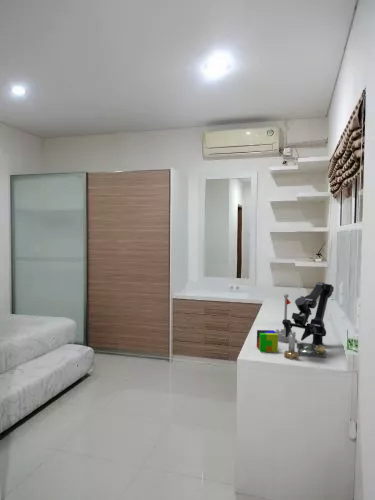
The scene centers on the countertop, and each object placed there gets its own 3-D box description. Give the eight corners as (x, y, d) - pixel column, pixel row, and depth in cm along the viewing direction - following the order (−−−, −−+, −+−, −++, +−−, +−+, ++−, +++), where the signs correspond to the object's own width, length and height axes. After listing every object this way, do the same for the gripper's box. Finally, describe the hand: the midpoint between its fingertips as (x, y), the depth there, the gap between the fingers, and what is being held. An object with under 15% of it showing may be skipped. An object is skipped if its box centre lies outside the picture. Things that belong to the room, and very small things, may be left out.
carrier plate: (297, 348, 224) (297, 339, 223) (326, 352, 218) (326, 342, 217) (294, 354, 213) (295, 344, 212) (325, 358, 206) (325, 348, 206)
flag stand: (270, 337, 246) (271, 292, 245) (287, 336, 250) (288, 291, 249) (282, 343, 234) (283, 295, 232) (299, 341, 238) (301, 294, 237)
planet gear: (285, 354, 212) (286, 333, 212) (298, 355, 210) (299, 334, 209) (283, 358, 205) (284, 336, 205) (297, 360, 203) (298, 338, 202)
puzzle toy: (273, 346, 227) (273, 330, 226) (277, 351, 217) (278, 334, 216) (256, 346, 226) (257, 330, 226) (260, 351, 216) (260, 334, 216)
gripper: (284, 305, 218) (273, 327, 211) (315, 309, 206) (305, 333, 198) (290, 316, 224) (280, 338, 217) (320, 322, 212) (311, 345, 204)
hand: (293, 338), depth 209 cm, fingers open, 9 cm apart
